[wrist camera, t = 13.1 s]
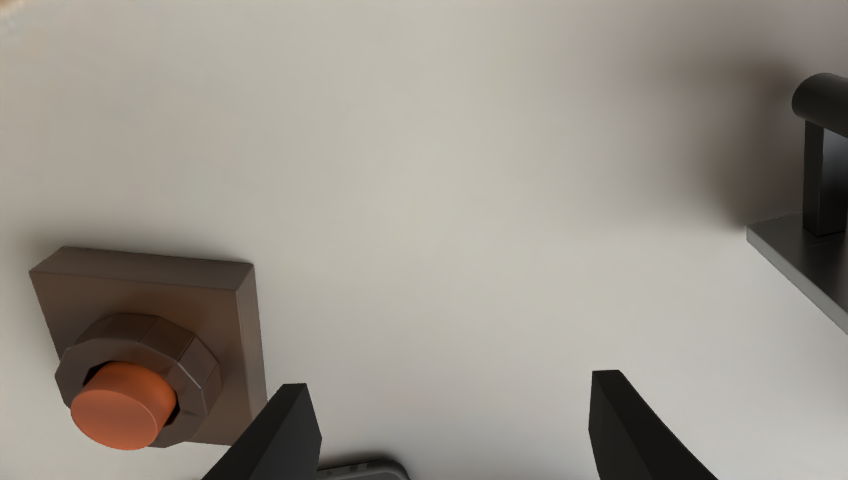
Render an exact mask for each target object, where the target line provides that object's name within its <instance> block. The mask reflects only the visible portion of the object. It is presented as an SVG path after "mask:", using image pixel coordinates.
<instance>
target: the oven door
mask: <svg viewBox="0 0 848 480" xmlns="http://www.w3.org/2000/svg"><path fill="white" fill-rule="evenodd" d="M792 109H793V111H794V113H795V114H796V115H797V116H798V117H800V118H802V119H805V144H804V181H803V212H799V213H795V214H791V215H786V216H782V217H778V218H774V219H770V220H765V221H761V222H757V223H753V224H749V225H746V236H747V241H748V242H749V243H750V244H751V245H752V246H753V247H754V248H755V249H756V250H757V251H758V252H759V253H760V254H761V255H763V256H764V257H765V258H766V259H767V260H768V261H769V262H770V263H771V264H772V265H773V266H774V267H775V268H776V269H777V270H779V271H780V272H781V273H782V274H783V275H784V276H785V277H786V278H787V279H788V280H789V281H790V282H791V283H792V284H793V285H795V286H796V287H797V288H798V289H799V290H800V291H801V292H802V293H803V294H804V295H805V296H806V297H807V298H808V299H809V300H811V301H812V302H813V303H814V304H815V305H816V306H817V307H818V308H819V309H820V310H821V311H822V312H823V313H824V314H825V315H826V316H828V317H829V318H830V319H831V320H832V321H833V322H834V323H835V324H836V325H837V326H838V327H839V328H840V329H841V330H842V331H844V332H845V333H846V334H847V335H848V78H844V77H841V76H837V75H834V74H830V73H820V74H816V75H813V76H811V77H809V78H807V79H806V80H804V81H803V82H802V83H801V84H800V85H799V86H798V87H797V89H796V90H795V92H794V94H793V97H792Z"/></svg>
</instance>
